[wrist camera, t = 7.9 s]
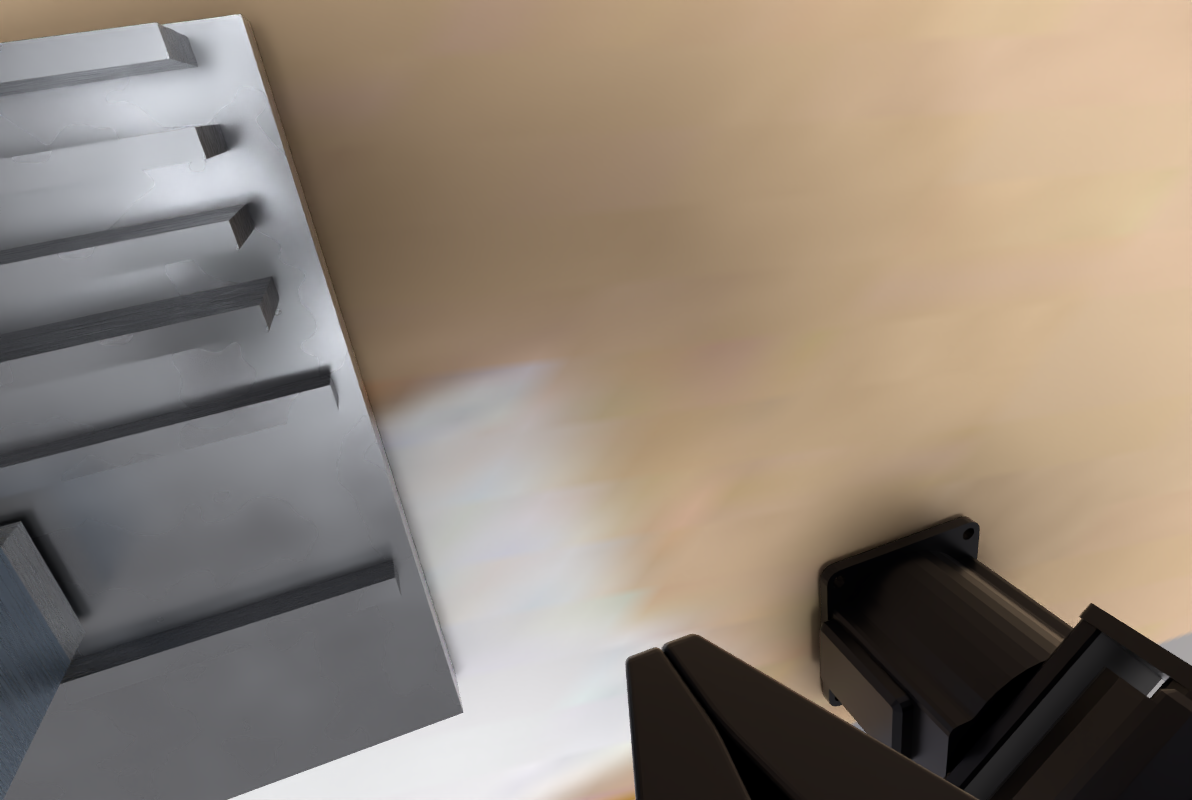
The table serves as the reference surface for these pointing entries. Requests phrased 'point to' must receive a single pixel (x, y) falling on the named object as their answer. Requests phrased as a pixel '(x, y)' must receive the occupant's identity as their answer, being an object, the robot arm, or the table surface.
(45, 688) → the grey block
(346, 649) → the heatsink
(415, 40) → the table surface
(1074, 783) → the robot arm
